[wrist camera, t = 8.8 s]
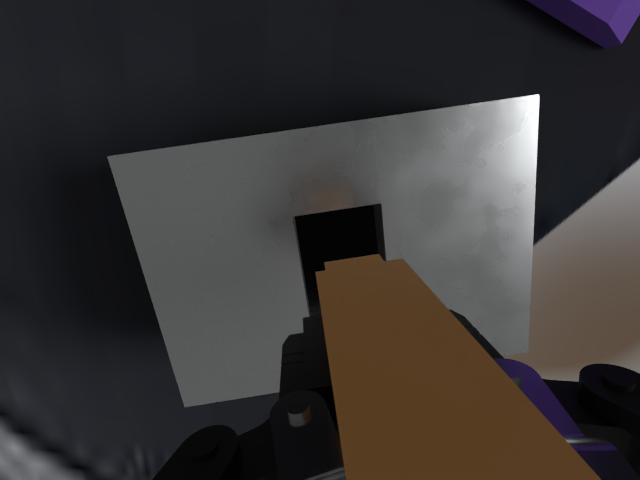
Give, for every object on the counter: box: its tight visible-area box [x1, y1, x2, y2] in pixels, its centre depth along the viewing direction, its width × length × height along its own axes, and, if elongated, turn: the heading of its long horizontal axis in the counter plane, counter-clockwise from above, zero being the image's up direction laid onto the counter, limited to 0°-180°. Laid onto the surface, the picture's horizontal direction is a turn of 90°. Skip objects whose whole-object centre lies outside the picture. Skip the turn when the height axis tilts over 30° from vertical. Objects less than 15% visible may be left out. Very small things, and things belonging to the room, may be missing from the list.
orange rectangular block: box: [315, 254, 601, 480], centre depth 9 cm, size 3×4×10 cm, turn 8°
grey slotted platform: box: [107, 94, 539, 407], centre depth 22 cm, size 20×14×8 cm
